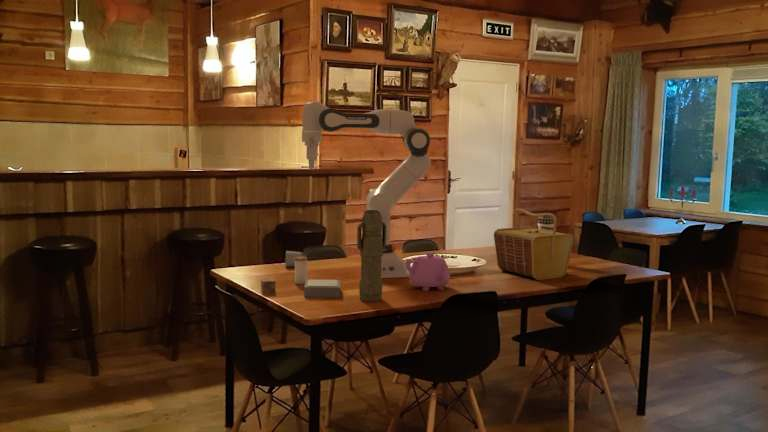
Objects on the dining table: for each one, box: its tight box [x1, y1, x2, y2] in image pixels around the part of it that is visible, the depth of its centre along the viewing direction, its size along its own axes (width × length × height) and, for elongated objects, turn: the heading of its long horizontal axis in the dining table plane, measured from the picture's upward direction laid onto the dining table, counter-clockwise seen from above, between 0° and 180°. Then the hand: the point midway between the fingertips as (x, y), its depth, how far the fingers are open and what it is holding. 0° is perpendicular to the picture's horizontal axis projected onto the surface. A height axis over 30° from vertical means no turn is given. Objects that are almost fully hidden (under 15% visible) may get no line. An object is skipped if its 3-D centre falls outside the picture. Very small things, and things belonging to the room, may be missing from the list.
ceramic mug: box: [284, 250, 304, 268], centre depth 348 cm, size 11×8×8 cm
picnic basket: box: [493, 208, 575, 281], centre depth 339 cm, size 29×26×30 cm
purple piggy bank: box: [405, 252, 451, 292], centre depth 303 cm, size 20×20×15 cm
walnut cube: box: [260, 278, 277, 295], centre depth 292 cm, size 5×5×5 cm
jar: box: [294, 256, 308, 285], centre depth 310 cm, size 5×5×11 cm
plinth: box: [303, 279, 341, 299], centre depth 291 cm, size 14×14×4 cm
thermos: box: [356, 210, 386, 303], centre depth 281 cm, size 9×12×35 cm
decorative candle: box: [536, 215, 554, 231], centre depth 369 cm, size 9×9×25 cm
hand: (311, 169), depth 325 cm, fingers open, 8 cm apart
